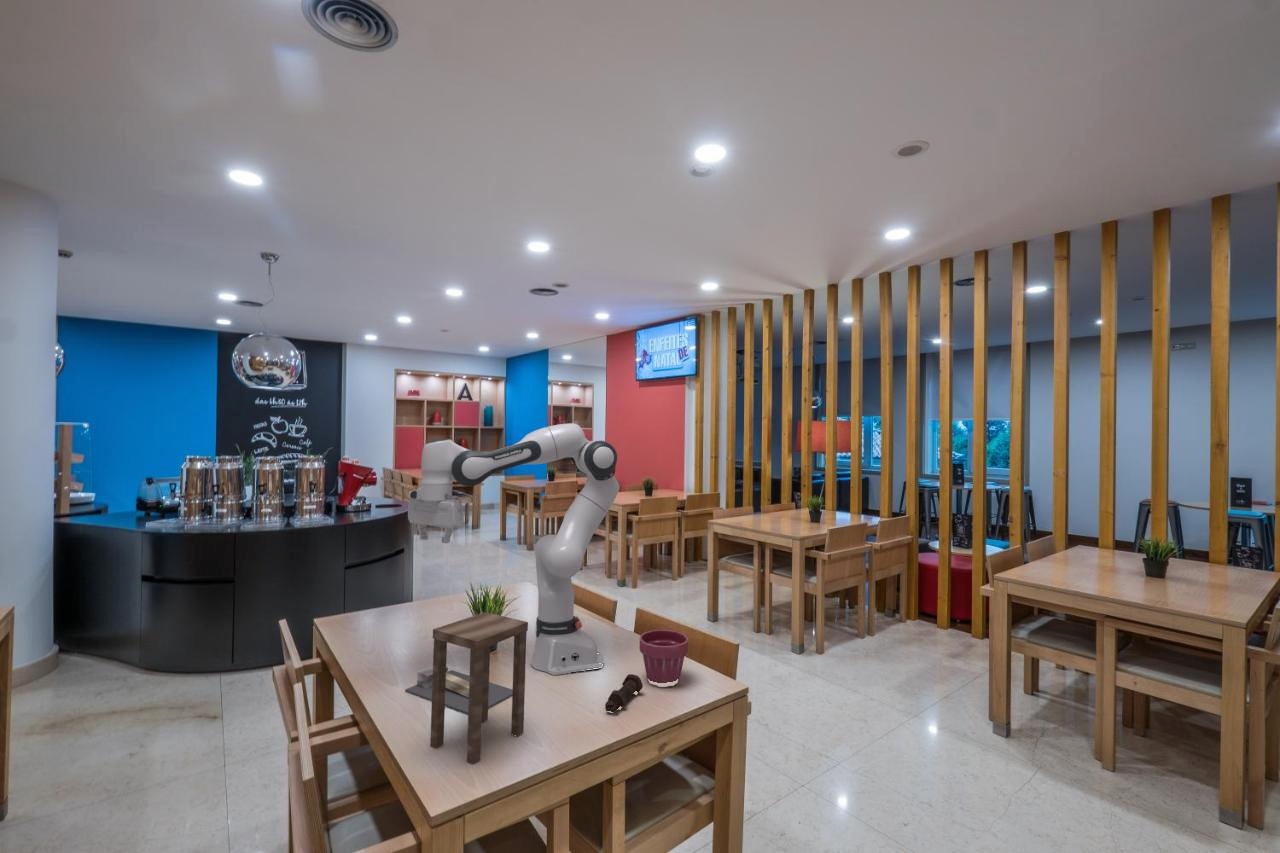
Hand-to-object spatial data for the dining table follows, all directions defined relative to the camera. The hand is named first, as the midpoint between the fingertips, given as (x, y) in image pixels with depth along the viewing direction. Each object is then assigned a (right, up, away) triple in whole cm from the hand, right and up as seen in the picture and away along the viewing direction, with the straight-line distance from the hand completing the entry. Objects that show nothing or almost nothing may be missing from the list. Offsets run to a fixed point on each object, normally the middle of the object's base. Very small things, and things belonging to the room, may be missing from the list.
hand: (434, 541), depth 166 cm
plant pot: (+67, -41, -1) cm, 78 cm away
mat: (+11, -39, -11) cm, 42 cm away
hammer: (+11, -35, -12) cm, 39 cm away
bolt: (+55, -40, -15) cm, 70 cm away
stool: (+23, -39, -35) cm, 57 cm away
